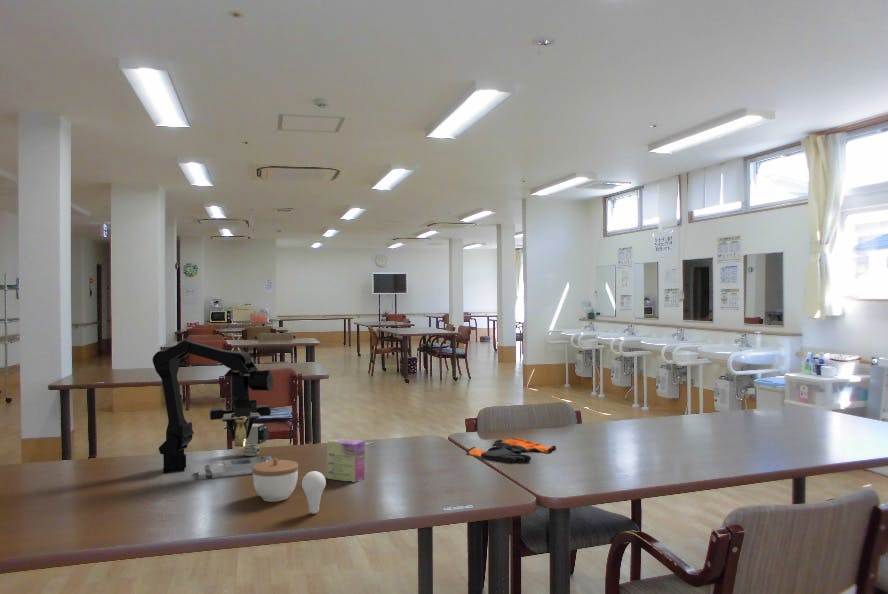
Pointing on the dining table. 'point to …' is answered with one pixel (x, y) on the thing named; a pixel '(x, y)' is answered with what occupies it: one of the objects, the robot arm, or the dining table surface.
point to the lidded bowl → (275, 479)
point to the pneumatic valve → (256, 439)
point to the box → (345, 459)
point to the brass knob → (240, 431)
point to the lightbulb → (313, 489)
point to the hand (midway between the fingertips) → (240, 438)
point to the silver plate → (231, 467)
